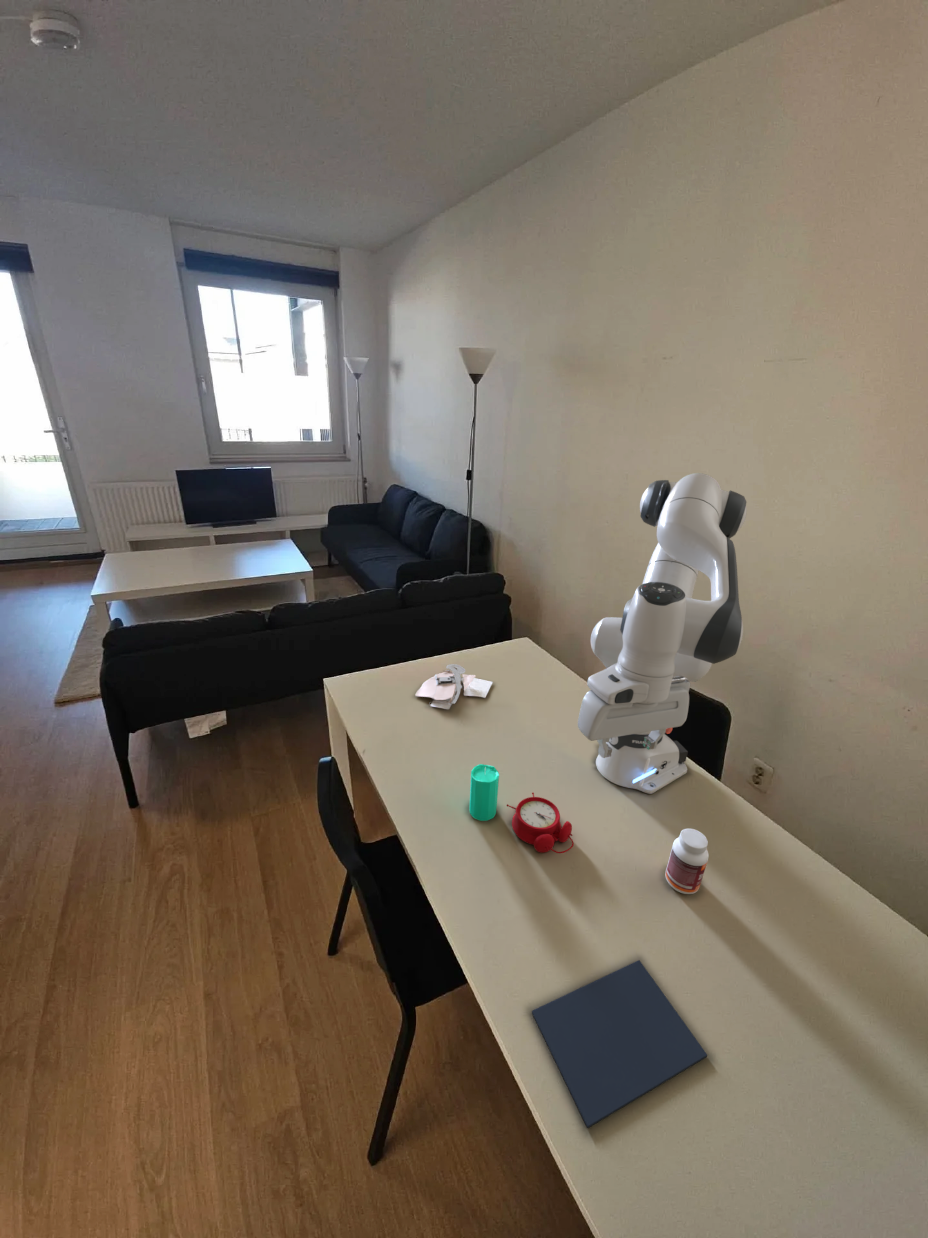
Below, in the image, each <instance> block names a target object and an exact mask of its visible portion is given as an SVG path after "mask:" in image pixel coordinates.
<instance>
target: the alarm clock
mask: <svg viewBox="0 0 928 1238" xmlns="http://www.w3.org/2000/svg"><path fill="white" fill-rule="evenodd" d="M531 795H532V796H530V797H526V798H523V799H522V800H521V801H519V802H518V804H517V806H516V807H514V806H512V805H509V804H508V803H507V804H506V807H509V808H511V809H513V810H515V813H514V814H513V816H512V820H511V827H512V831H513V832H514V834H515V835H516V836H517V838H518V839H520V840H521V841H523V842H525V843H527V844H529V845H532V846H533V847H534V850H535V851H536V852H537V853H542V854H545V853H547V852H550V851H552V852H554V853H556V854H564V853H567V852H569V851H570V850H571V849H572V848H573V847H574V840H573V839H572V838H571V837H572V836H573V834H572V830H573V825H572V823H571V821H569V820H566V821H565V822H564V823H563V825H562V823H561V814H560V810H559V808H558V807H557V806H556V804H554V803H553V802H552V801H550V800H548V799H547V798H545V797H541V796H535V793H534V792H531ZM569 839H570V841H571V846H570V847H569V848H567V849H564V850H563V851H557V850H555V849H553V848H554V846H555V842H557V841H558V842H560V843H565V842H567V841H568V840H569Z"/></svg>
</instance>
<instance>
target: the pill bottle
mask: <svg viewBox="0 0 928 1238" xmlns="http://www.w3.org/2000/svg"><path fill="white" fill-rule="evenodd" d="M708 844H709V842H708V838H707V837H706V835H705V834H704V833H702V832H701V831H699V830H697V829H694V828H690V827H689V828H688V827H687V828H683V829H682V830H681V831H680V834H679V836H678V837H677V838H675V839H674V841H673V843H672V846H671V850H670V854H669V858H668V862H667V865H666V868H665V880H666V881H667V883H668V885H669V886H670V887H671V888H672V889H673V890H675V891H676V892H678V893H681V894H683V895H693V894H695V893H697V892H698V891H699V890H700V887H701V884H702V881H703V877H704V874H705V871H706V867H707V865H708V861H709V856H710V855H709V851H708V846H709V845H708Z"/></svg>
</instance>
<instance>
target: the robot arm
mask: <svg viewBox="0 0 928 1238" xmlns="http://www.w3.org/2000/svg"><path fill="white" fill-rule="evenodd" d="M747 508H748V507H747V499H746V498H745V496H744V495H743V494H741V493H739V492H737V491H734V490H729V491H728V490H725V489H722V488H721V485H720V483H719V482H718V480H717V479H716V478H714V477H713V476H711V475H709V474H706V473H701V472H696V473H695V472H694V473H690V474H686V475H685V476H683V477H681V478H680V479H679V480H678V481H670V480H669V479H659V480H655V481H653V482H651V483H650V484H649V485H648V487H647V488H646V489H645V490H644V492H643V493H642V495H641V498H640V502H639V512H640V518H641V520H642V522H643V523H645V524H647V525H649V526H651V527H654V528H655V527H656V540H657V544H656V546H655V548H654V549H653V552H652V554H651V557H650V559H649V561H648V565H647V568H646V570H645V572H644V573H645V574H644V577H643V580H642V583H641V584H640V585H638V586H637V587H636V589H635V591H634V593H633V596H632V597H631V598H630V599H629V600H627V602H626V603H625V605H624V608H623V612H622V617H619V616H618V617H616V616H614V617H613V616H612V617H611V616H610V617H609V616H606V617H603V618H602V619H600V620H599V621H598V622H597V623H596V624H595V626H594V627H593V629H592V631H591V635H590V647H591V650H592V652H593V654H594V656H595V657H596V658H597V659H598V660H599V661H600V662H601V663H602V665H603V666H604V667H605V668H604V669H602V670H600V671H598V672H596V673H594V674H592V675H590V676H588V679H587V681H586V685H587V687H588V689H590V690H589V691H587V692H586V693H585V694H584V696H583V698H582V700H581V705H580V709H579V714H578V718H577V728H578V730H579V731H580V733H581V734H582V735H583V736H584V737H585V738H586V739H587V740H589V741H590V742H595V741H597V743H598V750H597V753H598V755H597V757H596V759H595V767H596V769H597V770H598V771H597V772H599V774H600V775H601V776H602V777H603V778H605V779H606V780H608V781H609V782H611V783H613V784H615V785H617V786H620V787H623V788H628V789H632V790H633V789H634V790H637V791H640V792H643V793H644V794H649V795H653V794H654V793H656V792H657V791H660V790H661V789H662V788H664V787H666V786H668V785H670V784H671V783H672V782H674V781H676V780H677V779H679V778H681V777H683V776H684V775H686V774H687V773H688V767H687V765H686V763H685V762H686V761H687V757H688V753H689V751H688V750H687V749H686V748H685V747H684V746H683V745H682V744H681V743H680V742H679V741H678V740H673V739H671V738H670V737H669V736H668V734H671V733H672V731H673V728H678V727H682V726H683V725H684V724H685V722H686V721H687V718H688V713H689V706H690V694H689V692H690V688H691V682H692V683H693V682H694V683H696V682H698V681H700V680H701V679H703V678H704V677H705V676H706V675H707V674H708V673H709V672H710V670H711V668H712V665H715V664H718V663H721V662H724V661H726V660H728V659H730V658H732V657H734V656H735V655H736V654H737V652H738V650H739V649H740V647H741V644H742V642H743V638H744V623H743V619H742V618H743V617H742V610H741V607H740V595H739V579H738V578H739V577H738V564H737V563H738V562H737V553H736V547H735V545H734V541H733V540H732V538H733V537H734V536H736V534H737V533H738V532H739V531H740V529H741V528H742V527H743V526H744V524H745V522H746V519H747V515H748V509H747ZM699 572H701V573H703V574H704V575H705V576H706V577H707V578H708V579H709V581H710V600H703V599H697V598H693V596H694V595H693V594H694V591H695V586H696V583H697V579H698V575H699Z"/></svg>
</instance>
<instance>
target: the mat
mask: <svg viewBox="0 0 928 1238" xmlns="http://www.w3.org/2000/svg"><path fill="white" fill-rule="evenodd" d="M531 1015H532V1016H533V1019H534V1021H535V1023H536V1024H537V1025H536V1026H537V1027H538V1029H539V1031H540V1033H541V1035H542V1037H543V1039H544V1041H545V1044H546V1045H547V1047H548V1050H549V1052H550V1054H551V1056H552V1058H553V1060H554V1062H555V1065H556V1066H557V1068H558V1071H559V1072H560V1075H561V1077H562V1079H563V1081H564V1083H565V1085H566V1087H567V1089H568V1092H569V1093H570V1095H571V1097H572V1099H573V1102H574V1104H575V1105H576V1108H577V1109H578V1112H579V1114H580V1116H581V1118H582V1120H583V1122H584V1124H585V1126H586V1128H587V1129H590V1128H591V1127H592V1126H594V1125H596V1124H598V1123H599V1122H601V1121H603V1120H604V1119H606V1118H607V1117H609V1116H611V1115H613V1114H614V1113H616V1112H617V1111H619V1110H621V1109H622V1108H624V1107H626V1106H627V1105H629V1104H632V1102H634V1101H636V1100H638V1099H639V1098H642V1097H643V1096H645V1095H646V1094H648V1093H649V1092H651V1091H653V1090H654V1089H656V1088H658V1087H660V1086H661V1085H663V1084H664V1083H666V1082H668V1081H669V1080H671V1079H673V1078H674V1077H676V1076H677V1075H679V1074H681V1073H683V1072H684V1071H686V1070H688V1069H689V1068H691V1067H693V1066H694V1065H696V1064H698V1063H699V1062H701V1061H703V1060H704V1059H706V1058H707V1057H708V1053H707V1051H705V1050H704V1048H703V1047H702V1045H701V1043H699V1041H698V1040H697V1038H696V1037H695V1035H694V1034H693V1033H692V1031H691V1030H690V1029H689V1027H688V1026H687V1024H686V1023H685V1021H684V1020H683V1019H682V1018H681V1016H680V1015H679V1013H678V1012H677V1010H676V1009H675V1008H674V1006H673V1005H672V1003H671V1002H670V1000H669V999H668V998H667V997H666V995H665V993H664V992H663V991H662V990H661V988H660V987H659V985H658V984H657V982H656V981H655V979H654V978H653V977H652V976H651V974H650V973H649V971H648V969H646V967H645V966H644V964H643V963H642V962H641V960H640V959H638V960H636V961H634V962H632V963H629V964H628V965H625V966H623V967H621V968H619V969H617V970H615V971H612V972H611V973H609V974H607V975H604V976H602V977H600V978H598V979H595V980H593V981H592V982H590V983H588V984H585V985H583V986H581V987H579V988H577V989H574V990H572V991H571V992H568V993H565V994H564V995H562V996H560V997H557V998H556V999H553V1000H551V1001H549V1002H548V1003H545V1004H543V1005H541V1006H539V1007H537V1008H535V1009H533V1010H531Z"/></svg>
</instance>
